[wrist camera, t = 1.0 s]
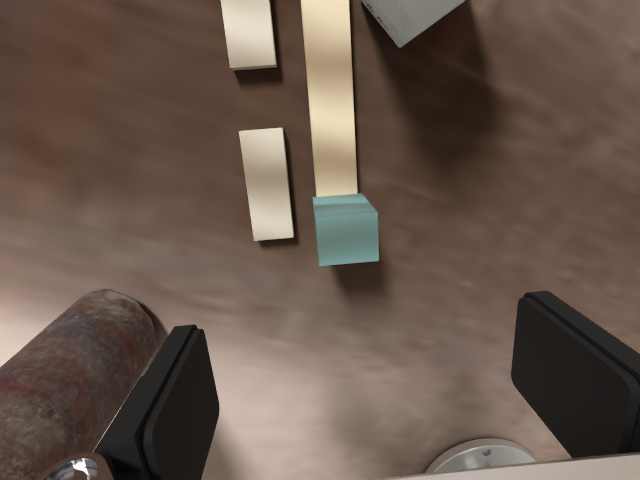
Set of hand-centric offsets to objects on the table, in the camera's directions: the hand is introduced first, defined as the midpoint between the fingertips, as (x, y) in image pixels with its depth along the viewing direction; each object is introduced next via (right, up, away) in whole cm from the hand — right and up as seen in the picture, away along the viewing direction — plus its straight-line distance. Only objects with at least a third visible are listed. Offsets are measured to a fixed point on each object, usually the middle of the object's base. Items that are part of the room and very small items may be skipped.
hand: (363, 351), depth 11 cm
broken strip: (-6, +14, +15) cm, 21 cm away
